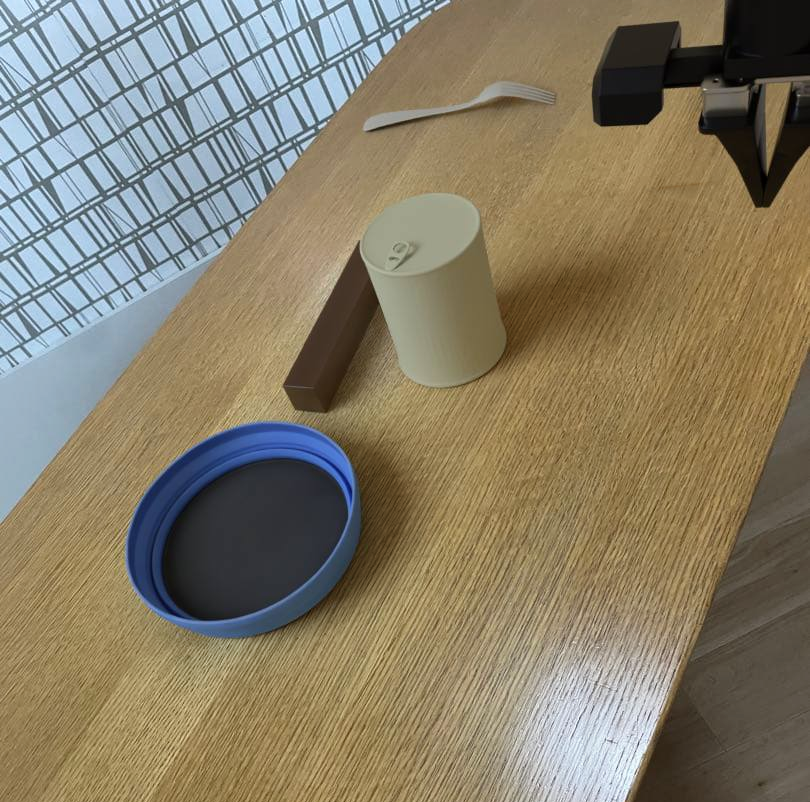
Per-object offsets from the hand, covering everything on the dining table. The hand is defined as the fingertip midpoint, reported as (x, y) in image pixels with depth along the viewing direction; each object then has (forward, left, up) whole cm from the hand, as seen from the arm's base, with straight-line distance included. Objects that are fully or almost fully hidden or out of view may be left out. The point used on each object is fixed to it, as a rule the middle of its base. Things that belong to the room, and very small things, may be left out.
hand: (763, 203), depth 51 cm
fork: (-21, -42, -13) cm, 49 cm away
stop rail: (+10, -31, -13) cm, 35 cm away
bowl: (+31, -24, -13) cm, 41 cm away
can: (+8, -22, -13) cm, 26 cm away
